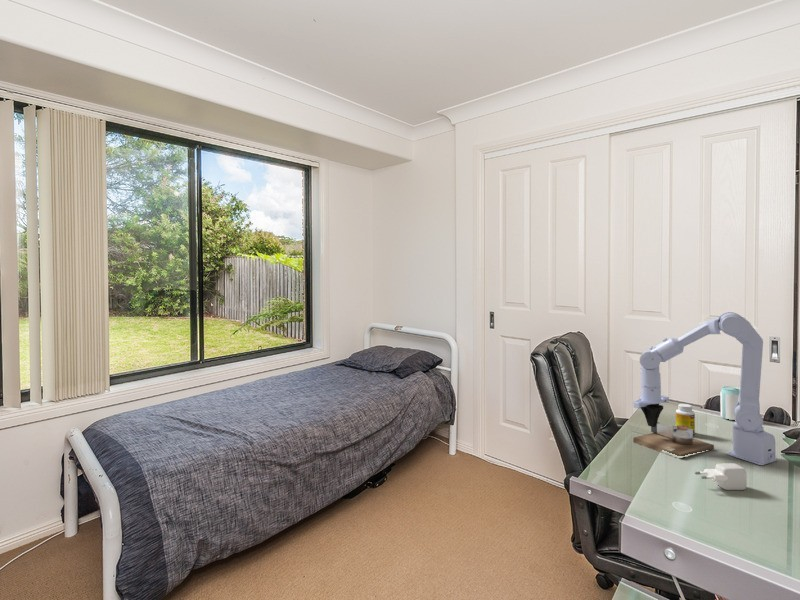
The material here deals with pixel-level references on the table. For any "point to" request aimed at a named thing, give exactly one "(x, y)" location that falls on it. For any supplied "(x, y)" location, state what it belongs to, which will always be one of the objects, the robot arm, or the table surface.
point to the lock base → (671, 444)
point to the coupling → (675, 433)
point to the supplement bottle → (685, 416)
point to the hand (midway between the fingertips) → (652, 426)
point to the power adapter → (727, 476)
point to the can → (728, 401)
